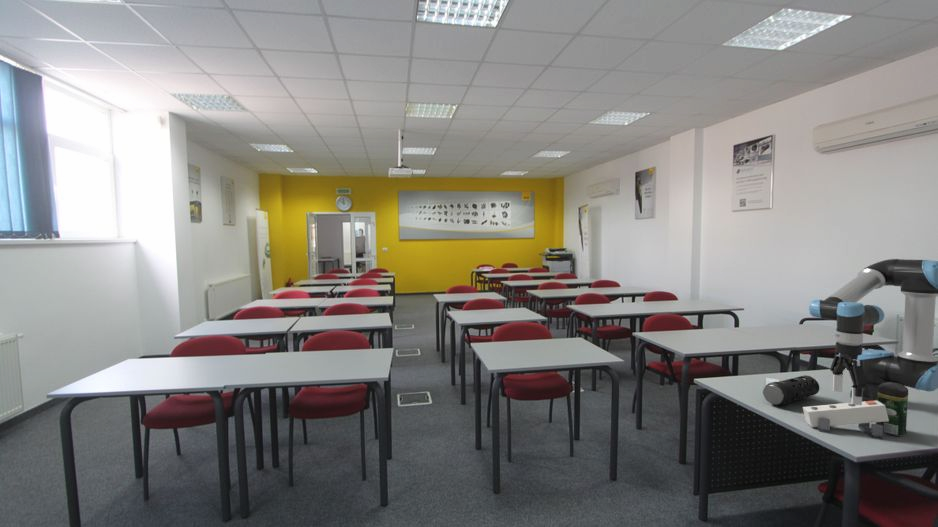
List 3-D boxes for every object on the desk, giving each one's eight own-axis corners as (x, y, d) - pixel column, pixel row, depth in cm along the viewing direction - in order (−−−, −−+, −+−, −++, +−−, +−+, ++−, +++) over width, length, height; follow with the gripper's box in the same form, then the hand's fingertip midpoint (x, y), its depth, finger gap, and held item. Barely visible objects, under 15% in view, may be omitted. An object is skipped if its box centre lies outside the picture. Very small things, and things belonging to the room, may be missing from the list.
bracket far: (817, 422, 168) (818, 410, 167) (829, 432, 159) (829, 419, 159) (808, 421, 169) (809, 409, 168) (819, 431, 160) (820, 418, 160)
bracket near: (867, 428, 163) (868, 415, 162) (882, 439, 154) (883, 425, 154) (858, 427, 164) (859, 414, 163) (872, 437, 155) (872, 424, 155)
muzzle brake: (819, 400, 191) (820, 378, 190) (783, 411, 179) (785, 387, 178) (796, 393, 200) (797, 372, 199) (760, 403, 188) (761, 380, 187)
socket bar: (880, 415, 159) (876, 398, 159) (888, 421, 155) (884, 403, 155) (806, 421, 167) (802, 405, 167) (811, 427, 162) (807, 410, 162)
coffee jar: (879, 424, 166) (882, 378, 165) (908, 432, 159) (911, 384, 158) (872, 430, 161) (875, 383, 160) (901, 439, 154) (904, 389, 153)
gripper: (821, 334, 172) (819, 385, 174) (855, 351, 149) (852, 409, 150) (843, 335, 170) (841, 387, 171) (881, 352, 146) (878, 411, 148)
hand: (846, 397), depth 161 cm, fingers open, 13 cm apart
